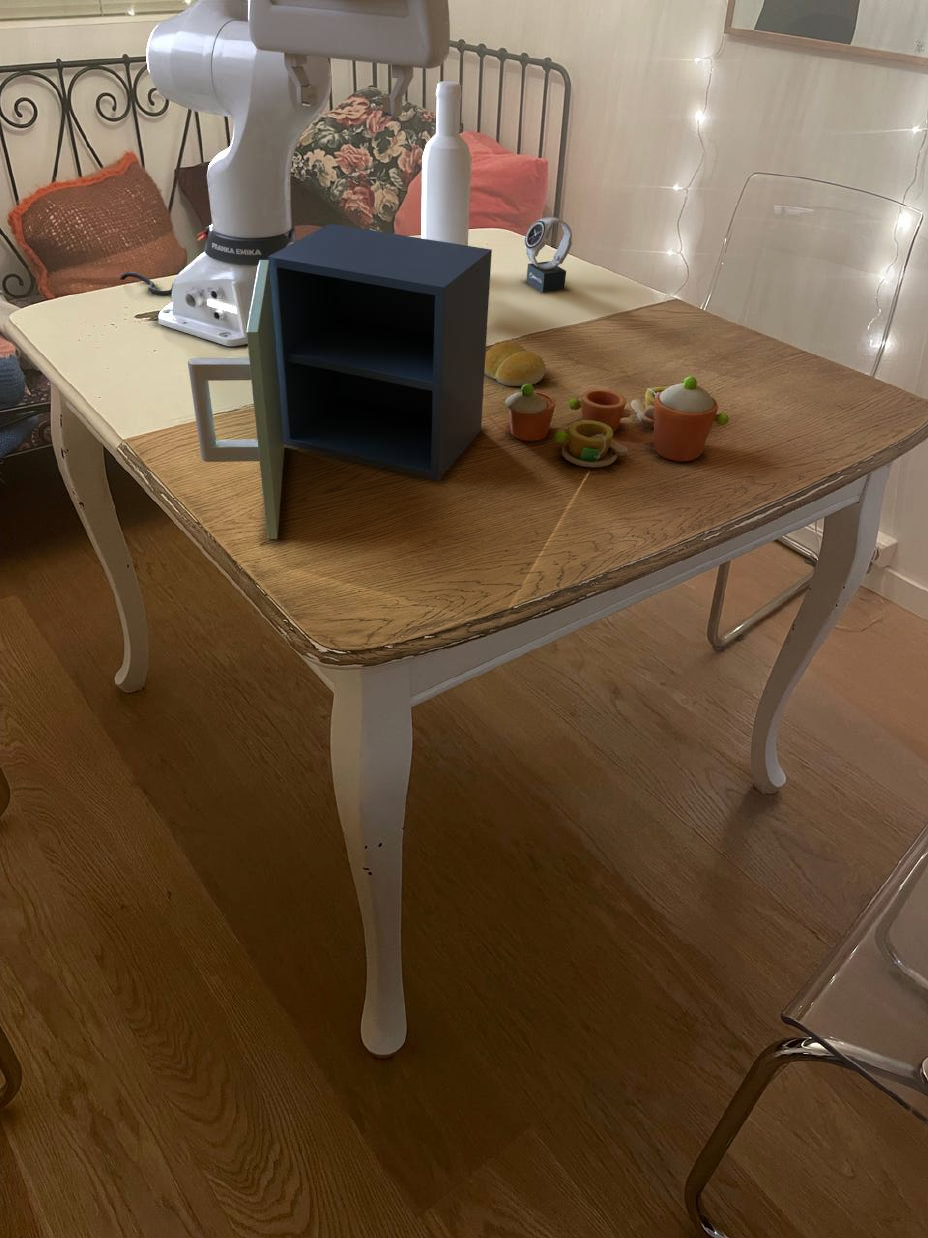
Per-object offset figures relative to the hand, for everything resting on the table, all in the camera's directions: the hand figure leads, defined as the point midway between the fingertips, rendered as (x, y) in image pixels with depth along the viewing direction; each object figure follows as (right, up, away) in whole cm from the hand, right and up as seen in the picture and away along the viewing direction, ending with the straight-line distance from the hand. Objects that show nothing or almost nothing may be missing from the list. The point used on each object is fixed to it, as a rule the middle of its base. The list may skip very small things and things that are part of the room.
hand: (349, 110), depth 95 cm
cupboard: (+2, -29, +20) cm, 35 cm away
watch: (+25, +6, +67) cm, 72 cm away
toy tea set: (+30, -29, +22) cm, 47 cm away
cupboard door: (-12, -37, +8) cm, 40 cm away
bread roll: (+18, -17, +37) cm, 44 cm away
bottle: (+8, +6, +66) cm, 66 cm away
